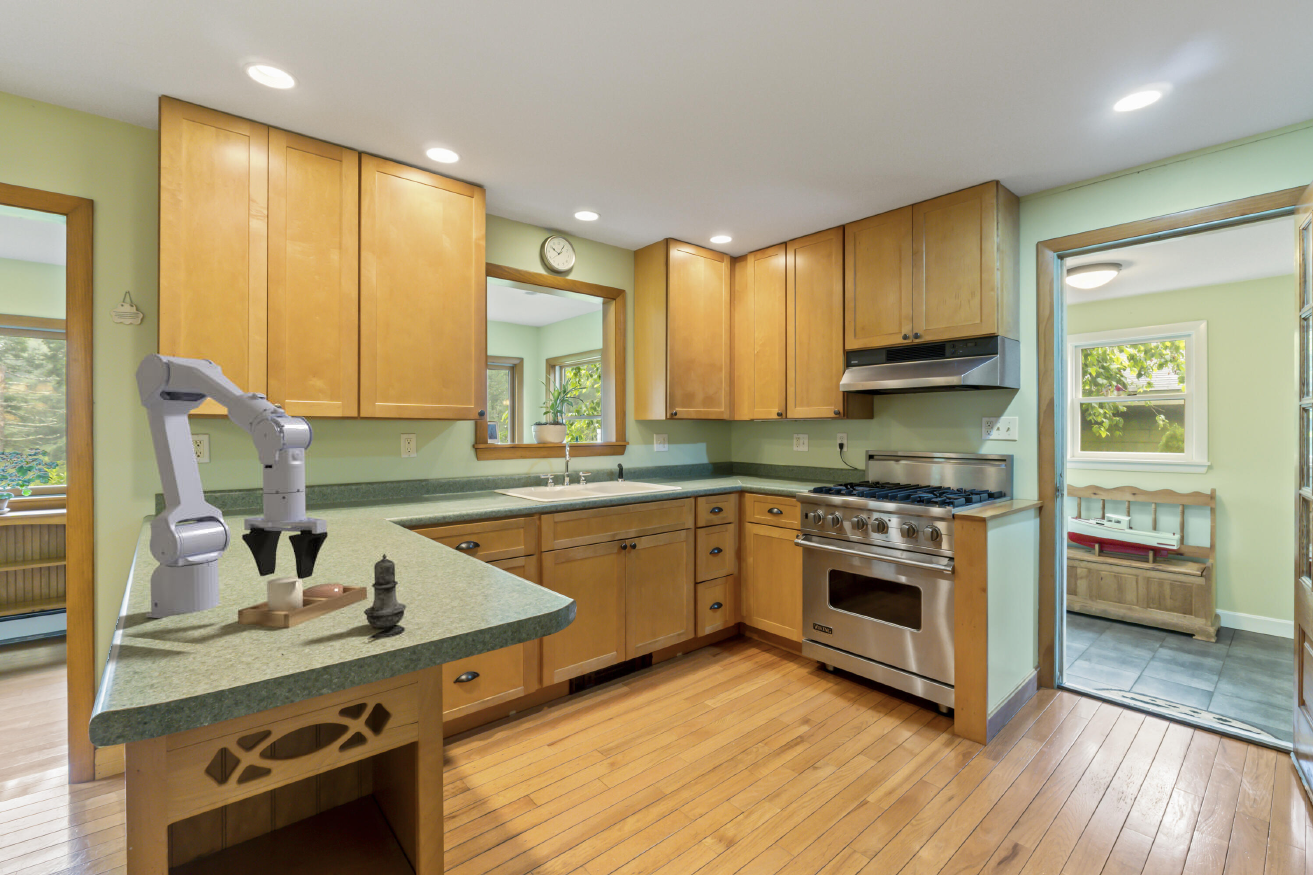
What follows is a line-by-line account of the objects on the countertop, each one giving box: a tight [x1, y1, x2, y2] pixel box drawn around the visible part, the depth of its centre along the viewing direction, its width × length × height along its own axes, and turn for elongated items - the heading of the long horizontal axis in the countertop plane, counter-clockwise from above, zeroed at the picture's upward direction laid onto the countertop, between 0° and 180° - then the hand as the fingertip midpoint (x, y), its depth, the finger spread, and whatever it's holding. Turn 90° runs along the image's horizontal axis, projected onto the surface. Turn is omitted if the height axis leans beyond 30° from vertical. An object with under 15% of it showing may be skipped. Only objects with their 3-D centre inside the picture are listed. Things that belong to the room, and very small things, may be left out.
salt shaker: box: [363, 553, 407, 639], centre depth 90 cm, size 6×6×12 cm
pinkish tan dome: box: [305, 582, 344, 599], centre depth 102 cm, size 6×6×3 cm
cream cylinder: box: [266, 575, 304, 612], centre depth 94 cm, size 5×5×6 cm
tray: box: [237, 585, 368, 629], centre depth 98 cm, size 10×16×3 cm, turn 165°
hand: (286, 575), depth 95 cm, fingers open, 7 cm apart
